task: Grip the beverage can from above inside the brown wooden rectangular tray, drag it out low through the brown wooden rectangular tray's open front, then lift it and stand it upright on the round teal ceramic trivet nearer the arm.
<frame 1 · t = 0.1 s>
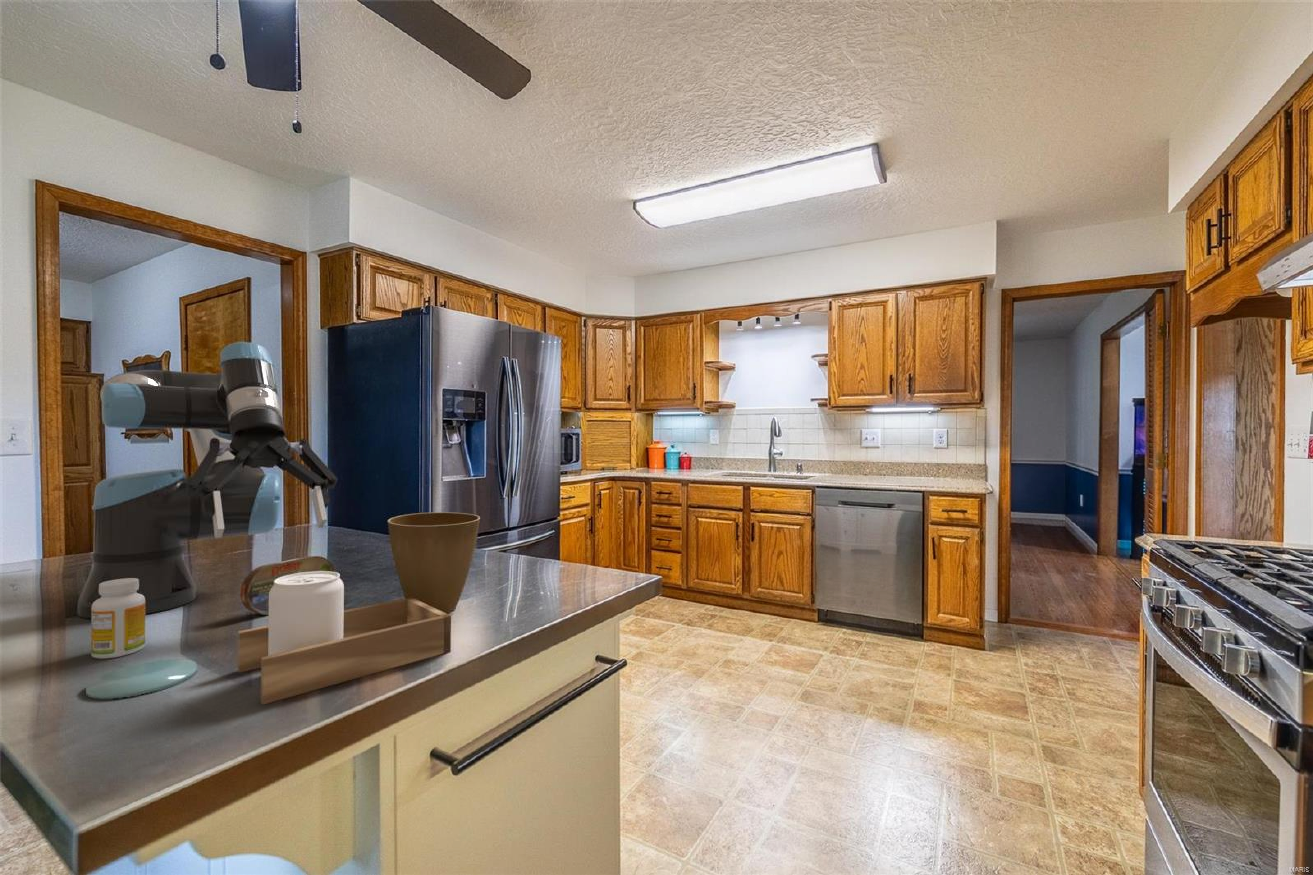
hand: (274, 528, 88), 15 cm above the counter, tool tilted 35°, fingers open, 13 cm apart
beverage can: (306, 673, 72), on the counter
brown wooden rectangular tray: (357, 658, 76), on the counter
tin: (289, 608, 98), on the counter
plant pot: (434, 611, 98), on the counter
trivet: (144, 680, 69), on the counter
supplement bottle: (118, 653, 78), on the counter
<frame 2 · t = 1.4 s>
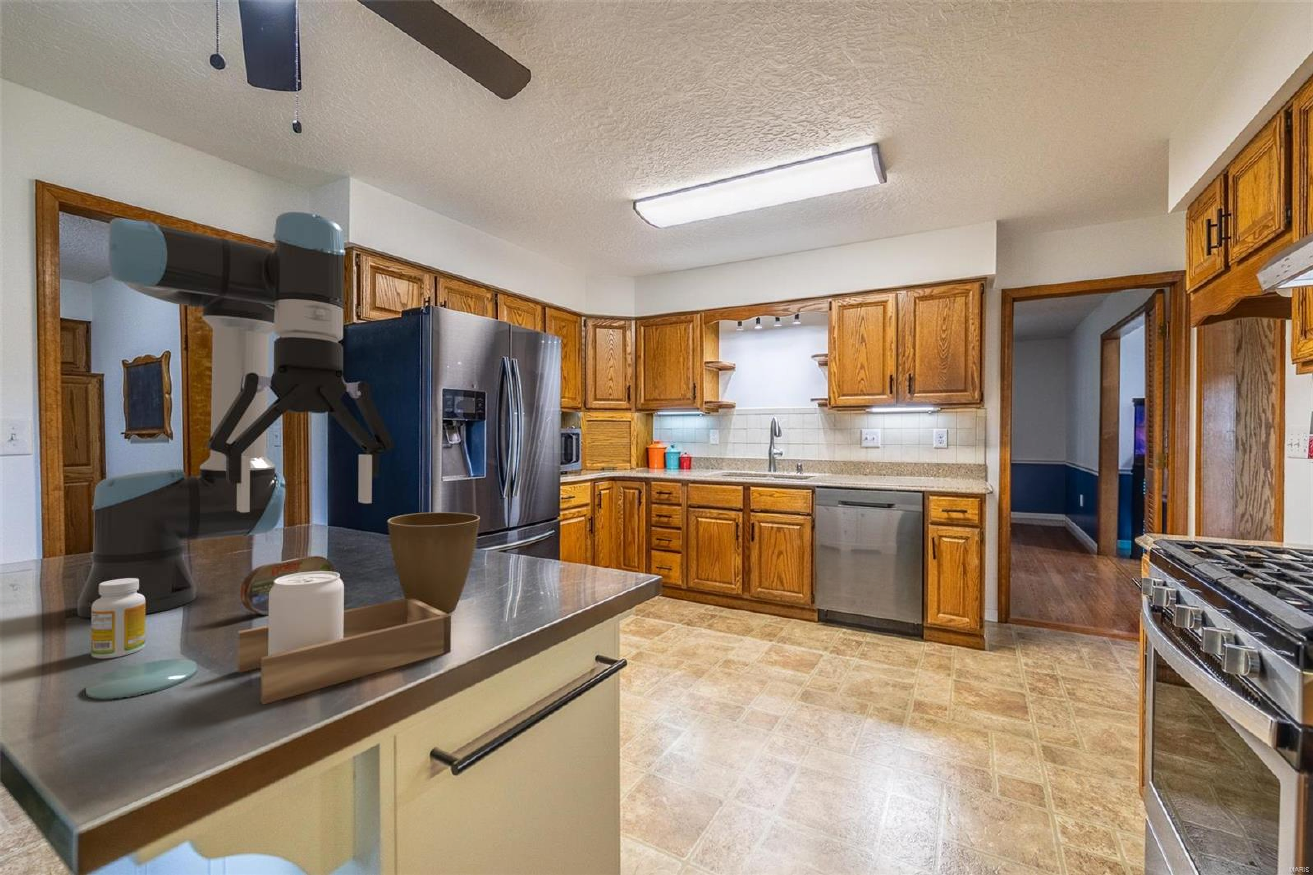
hand: (308, 506, 72), 21 cm above the counter, tool pointing down, fingers open, 13 cm apart
nothing on the counter moved.
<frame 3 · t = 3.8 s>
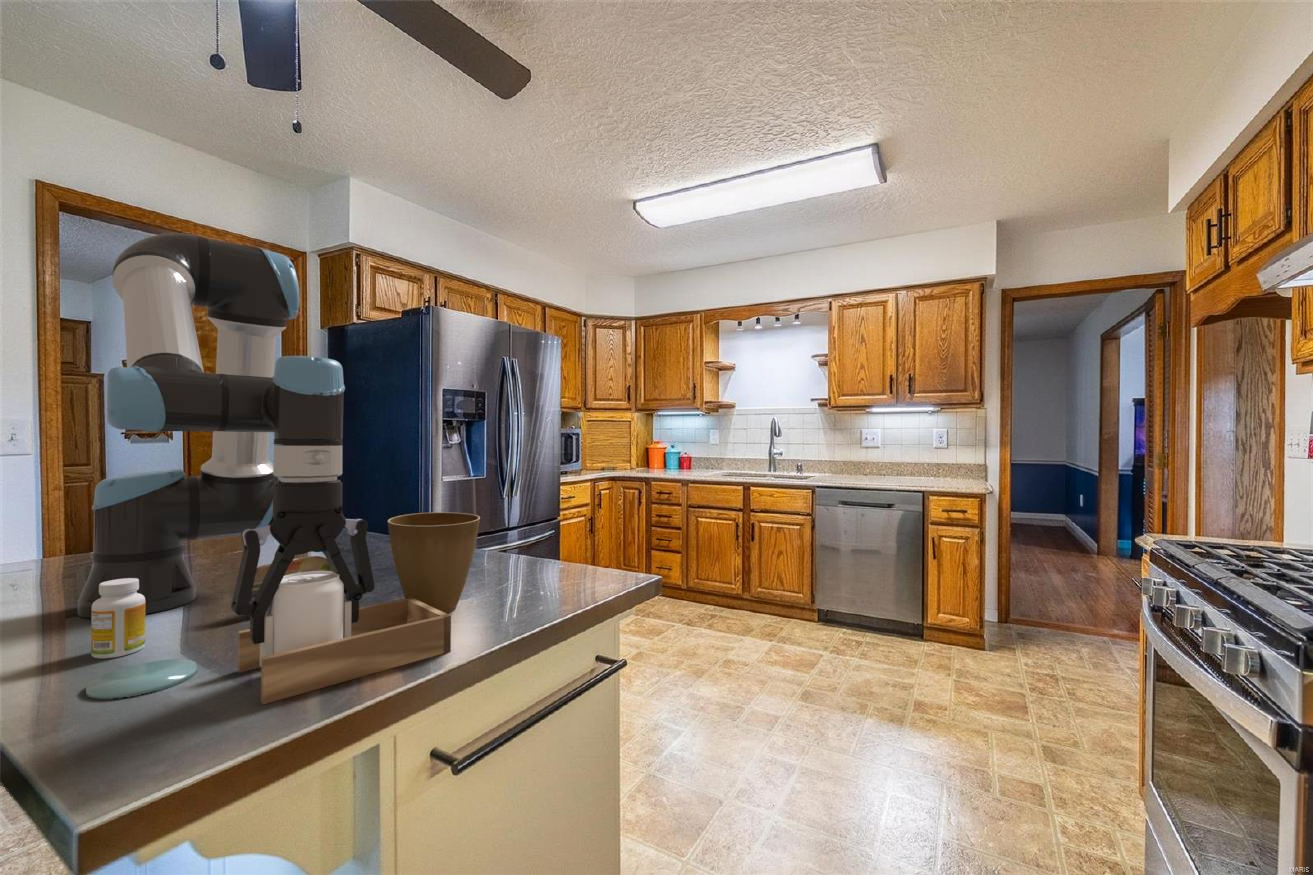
hand: (306, 657, 72), 2 cm above the counter, tool pointing down, fingers closed on beverage can, 8 cm apart
beverage can: (306, 673, 72), on the counter, touching gripper
everything else where it was.
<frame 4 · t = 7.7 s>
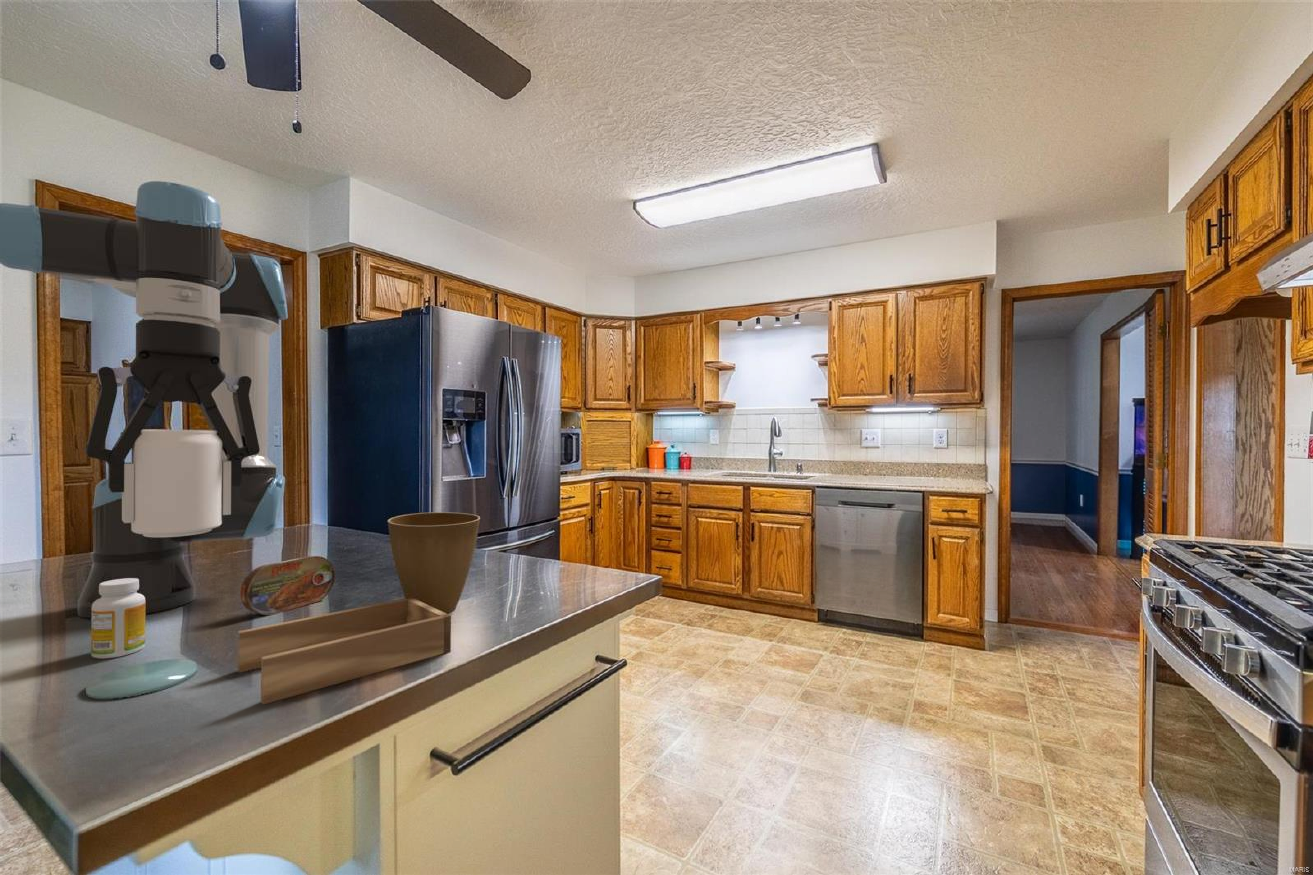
hand: (178, 516, 66), 20 cm above the counter, tool pointing down, fingers closed on beverage can, 8 cm apart
beverage can: (178, 533, 66), point 18 cm above the counter, touching gripper
everything else where it was.
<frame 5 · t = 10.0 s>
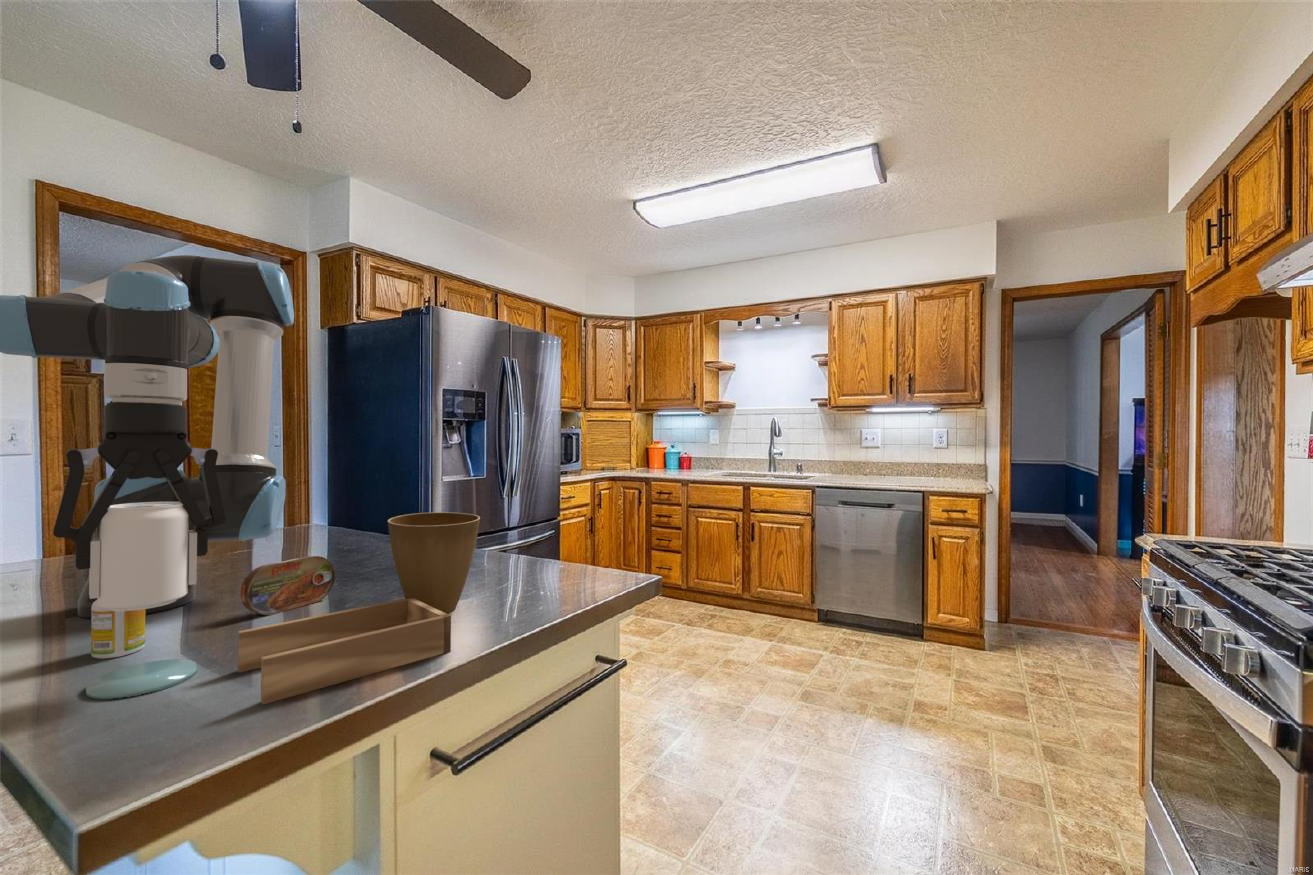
hand: (144, 588, 69), 11 cm above the counter, tool pointing down, fingers closed on beverage can, 8 cm apart
beverage can: (144, 605, 69), point 9 cm above the counter, touching gripper
everything else where it was.
when the fingers open (3 cm above the counter, at t = 11.9 s): beverage can stays where it is, resting on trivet.
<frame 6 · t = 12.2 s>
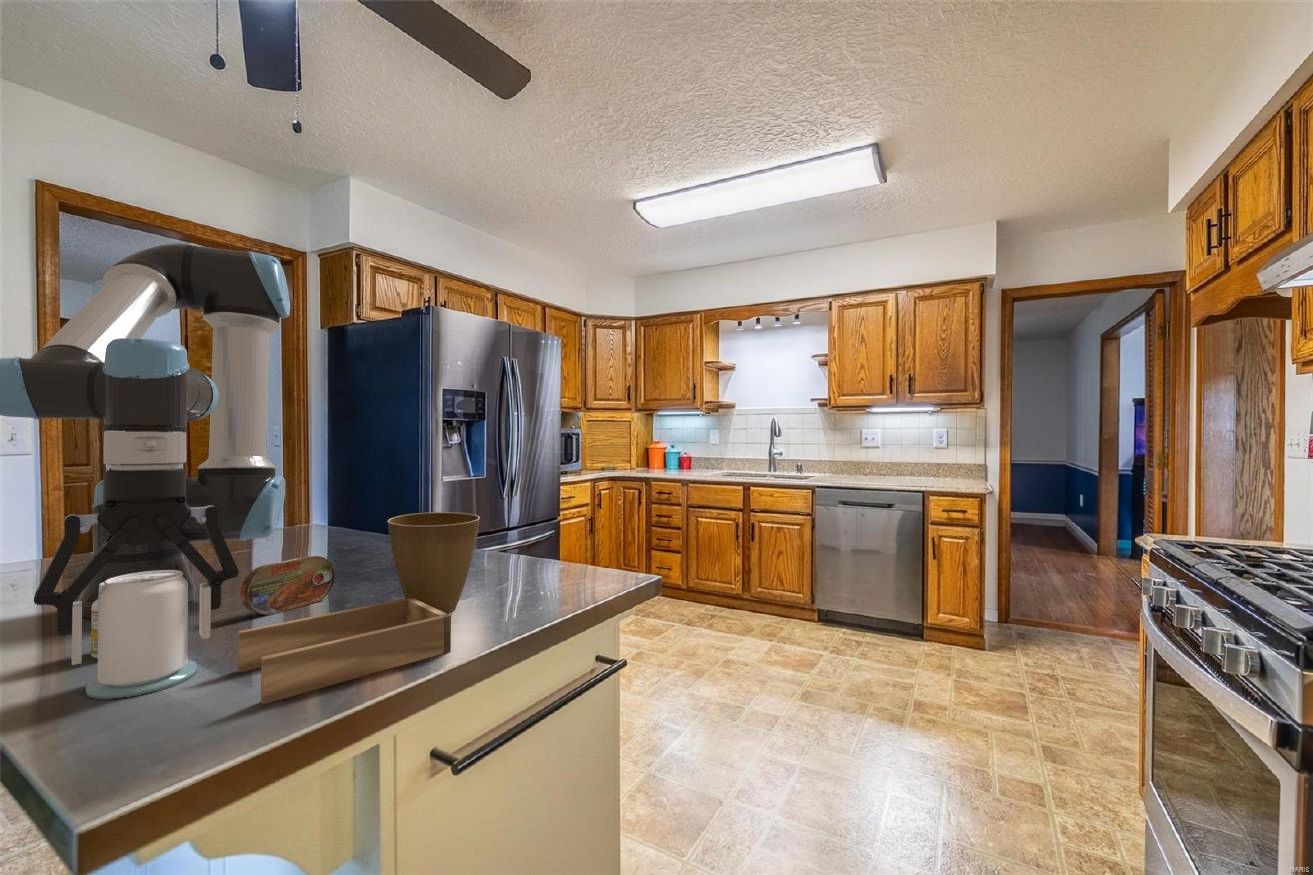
hand: (144, 647, 69), 4 cm above the counter, tool pointing down, fingers open, 11 cm apart
beverage can: (144, 676, 69), resting on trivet
everything else where it was.
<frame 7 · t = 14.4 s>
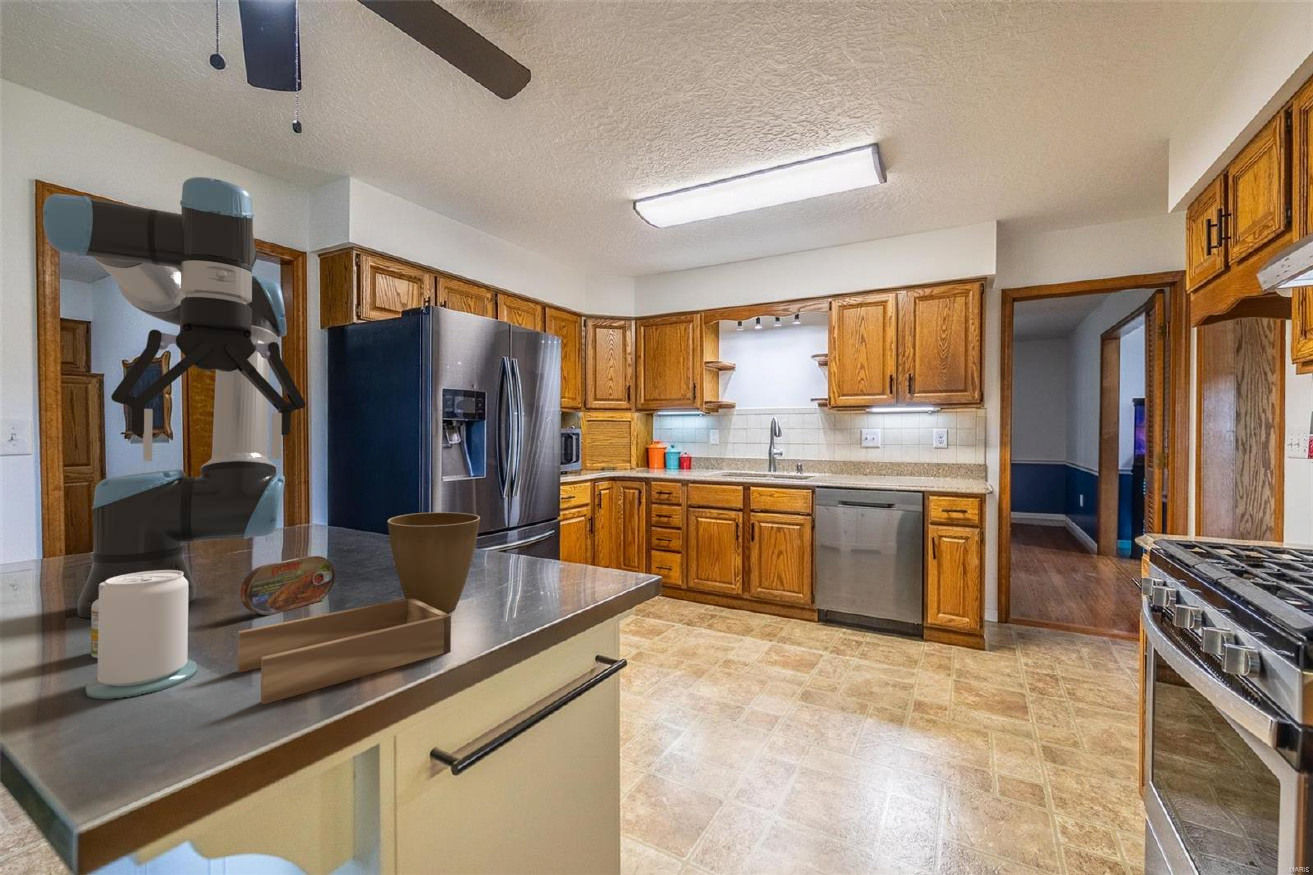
hand: (215, 460, 76), 27 cm above the counter, tool pointing down, fingers open, 13 cm apart
nothing on the counter moved.
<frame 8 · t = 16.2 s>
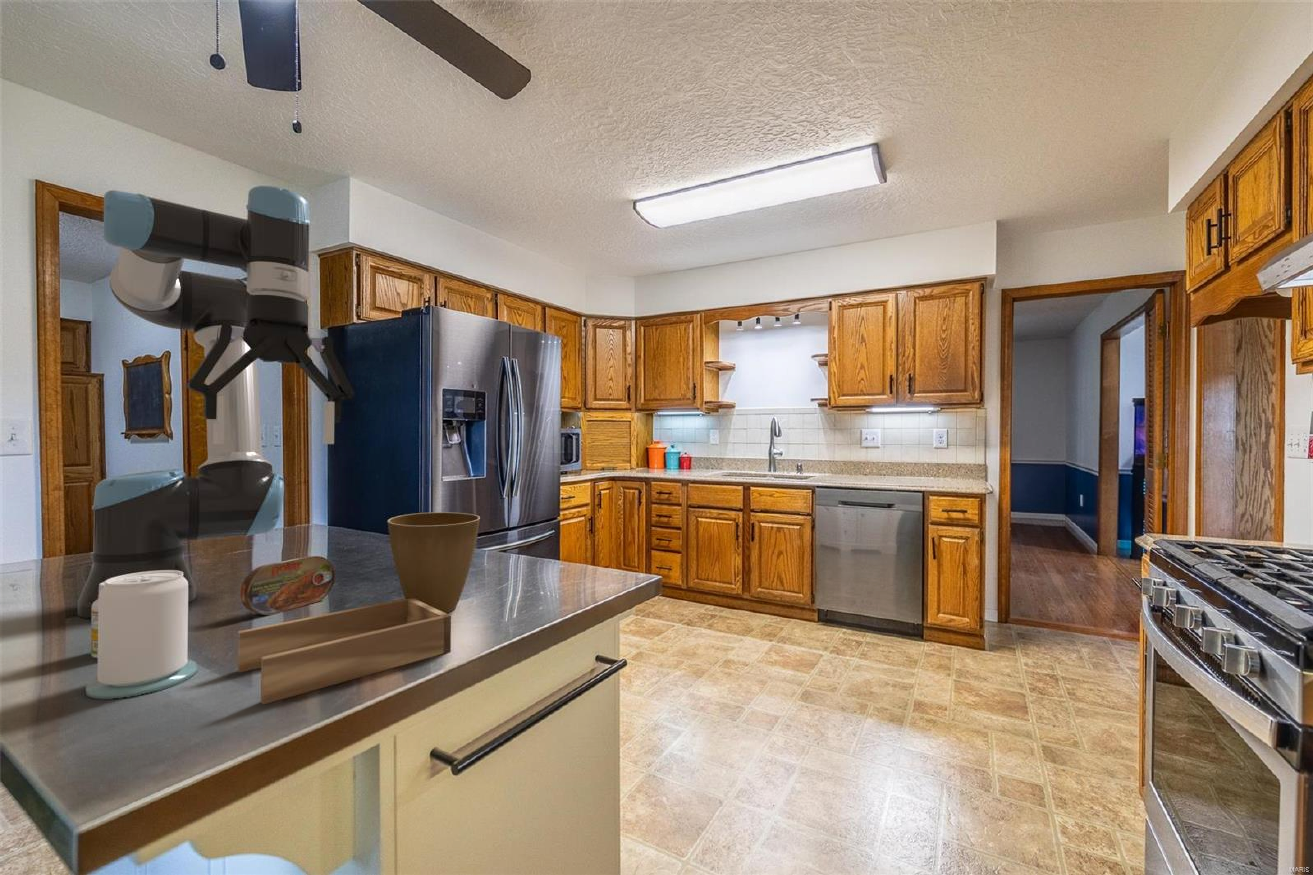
hand: (276, 444, 82), 29 cm above the counter, tool pointing down, fingers open, 13 cm apart
nothing on the counter moved.
at the end: beverage can 0.1 cm from the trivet (horizontally); beverage can tilted 0°; the gripper is holding nothing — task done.
